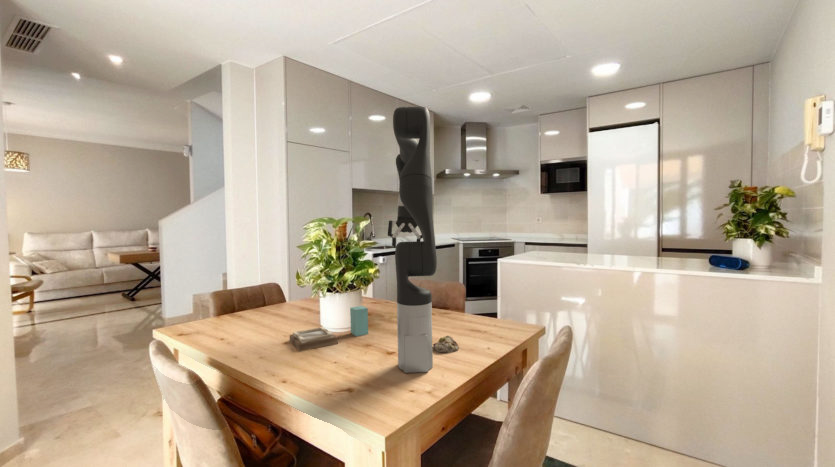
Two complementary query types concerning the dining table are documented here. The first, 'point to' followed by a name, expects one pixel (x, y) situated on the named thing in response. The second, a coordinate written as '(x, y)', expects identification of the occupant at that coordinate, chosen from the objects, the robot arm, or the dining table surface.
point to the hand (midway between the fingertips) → (406, 248)
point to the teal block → (359, 320)
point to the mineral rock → (446, 345)
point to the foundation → (313, 338)
